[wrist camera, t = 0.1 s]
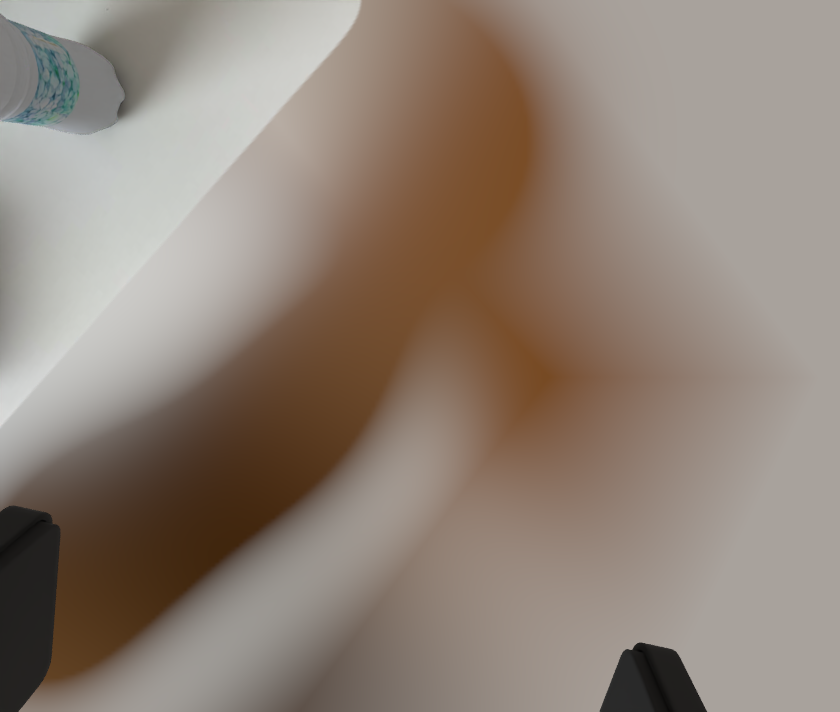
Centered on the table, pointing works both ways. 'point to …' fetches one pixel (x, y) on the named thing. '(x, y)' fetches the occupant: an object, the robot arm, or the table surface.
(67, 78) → the bottle
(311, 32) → the table surface
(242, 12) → the table surface
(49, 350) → the table surface
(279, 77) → the table surface
